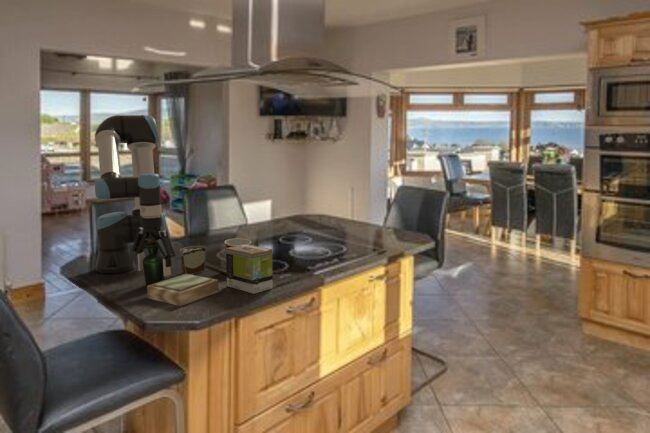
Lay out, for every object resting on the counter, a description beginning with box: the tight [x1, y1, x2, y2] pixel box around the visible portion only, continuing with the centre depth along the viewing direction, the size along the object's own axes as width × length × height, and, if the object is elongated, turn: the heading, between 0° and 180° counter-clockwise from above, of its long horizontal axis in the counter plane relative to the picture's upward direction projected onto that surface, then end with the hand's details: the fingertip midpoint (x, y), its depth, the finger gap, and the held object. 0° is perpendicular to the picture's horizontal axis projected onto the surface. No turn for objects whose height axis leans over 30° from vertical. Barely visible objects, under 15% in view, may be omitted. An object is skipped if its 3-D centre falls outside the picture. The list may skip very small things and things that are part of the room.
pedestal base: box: [146, 274, 220, 307], centre depth 192 cm, size 16×18×5 cm
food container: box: [178, 245, 208, 275], centre depth 221 cm, size 12×6×10 cm, turn 141°
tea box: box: [225, 244, 274, 294], centre depth 199 cm, size 15×10×15 cm
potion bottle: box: [142, 238, 166, 287], centre depth 203 cm, size 8×8×18 cm
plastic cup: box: [224, 237, 252, 249], centre depth 224 cm, size 11×11×12 cm
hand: (154, 272), depth 203 cm, fingers open, 13 cm apart
